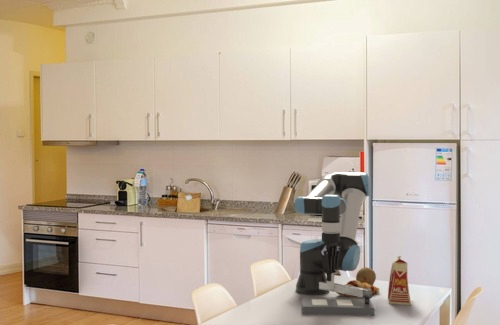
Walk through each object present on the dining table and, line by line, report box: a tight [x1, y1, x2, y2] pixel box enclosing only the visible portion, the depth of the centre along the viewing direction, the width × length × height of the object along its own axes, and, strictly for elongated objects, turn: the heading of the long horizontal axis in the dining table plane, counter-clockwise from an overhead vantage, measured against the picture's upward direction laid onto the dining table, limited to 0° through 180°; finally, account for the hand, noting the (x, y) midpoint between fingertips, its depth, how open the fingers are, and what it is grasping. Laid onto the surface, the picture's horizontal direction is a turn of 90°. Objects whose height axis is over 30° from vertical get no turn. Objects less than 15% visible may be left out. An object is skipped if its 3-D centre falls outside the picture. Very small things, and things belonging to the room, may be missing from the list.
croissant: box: [335, 279, 380, 298], centre depth 251 cm, size 21×10×8 cm, turn 107°
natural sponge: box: [355, 267, 377, 285], centre depth 261 cm, size 9×9×10 cm
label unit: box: [301, 297, 376, 316], centre depth 226 cm, size 12×28×5 cm, turn 87°
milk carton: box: [387, 255, 412, 306], centre depth 240 cm, size 9×9×20 cm
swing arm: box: [319, 281, 373, 299], centre depth 232 cm, size 4×24×3 cm, turn 50°
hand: (330, 288), depth 234 cm, fingers closed
